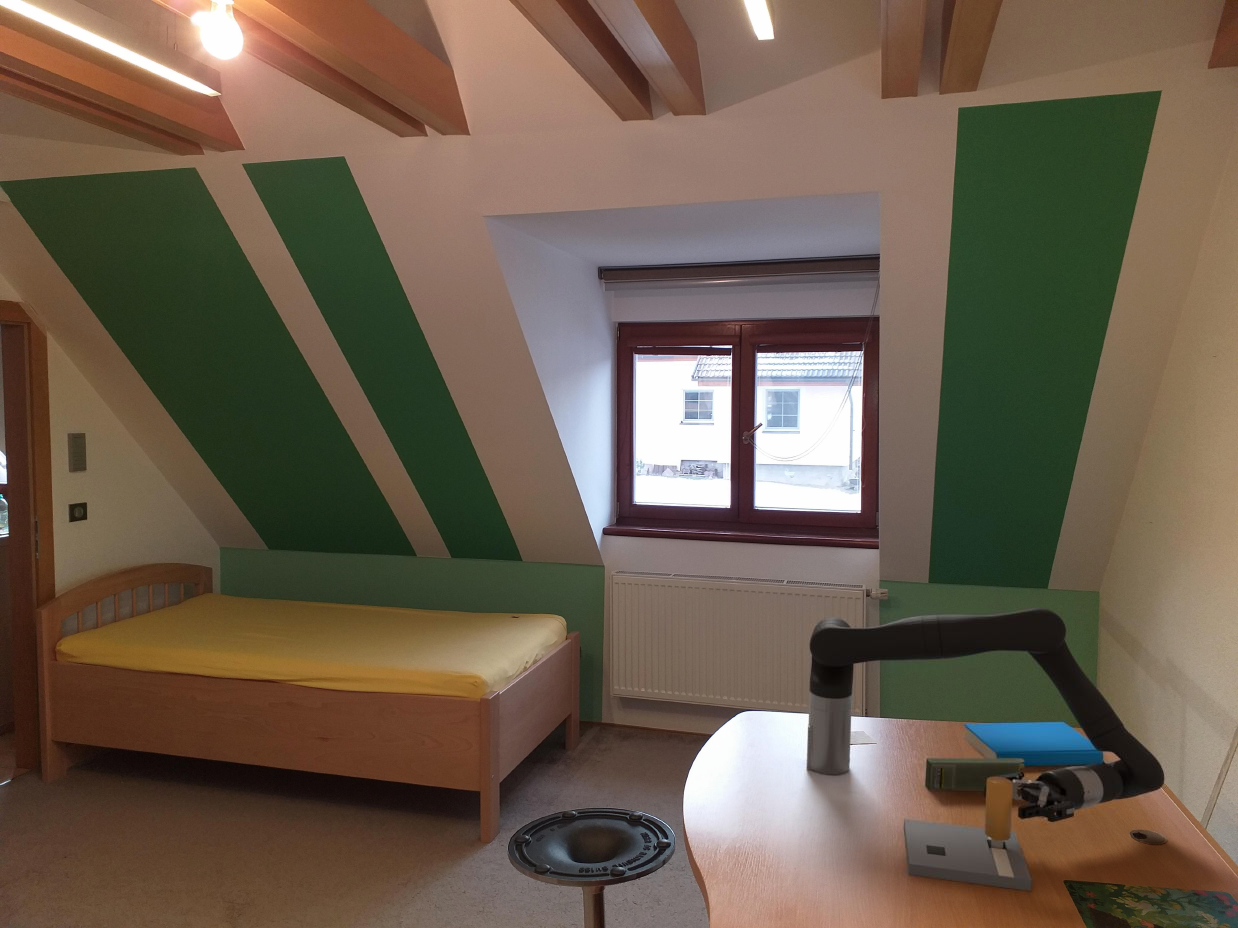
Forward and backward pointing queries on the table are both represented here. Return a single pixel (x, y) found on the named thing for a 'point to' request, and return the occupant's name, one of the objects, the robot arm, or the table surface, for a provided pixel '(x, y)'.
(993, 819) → the orange and grey cylinder
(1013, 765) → the handheld radio
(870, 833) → the table surface
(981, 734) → the book
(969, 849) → the board
